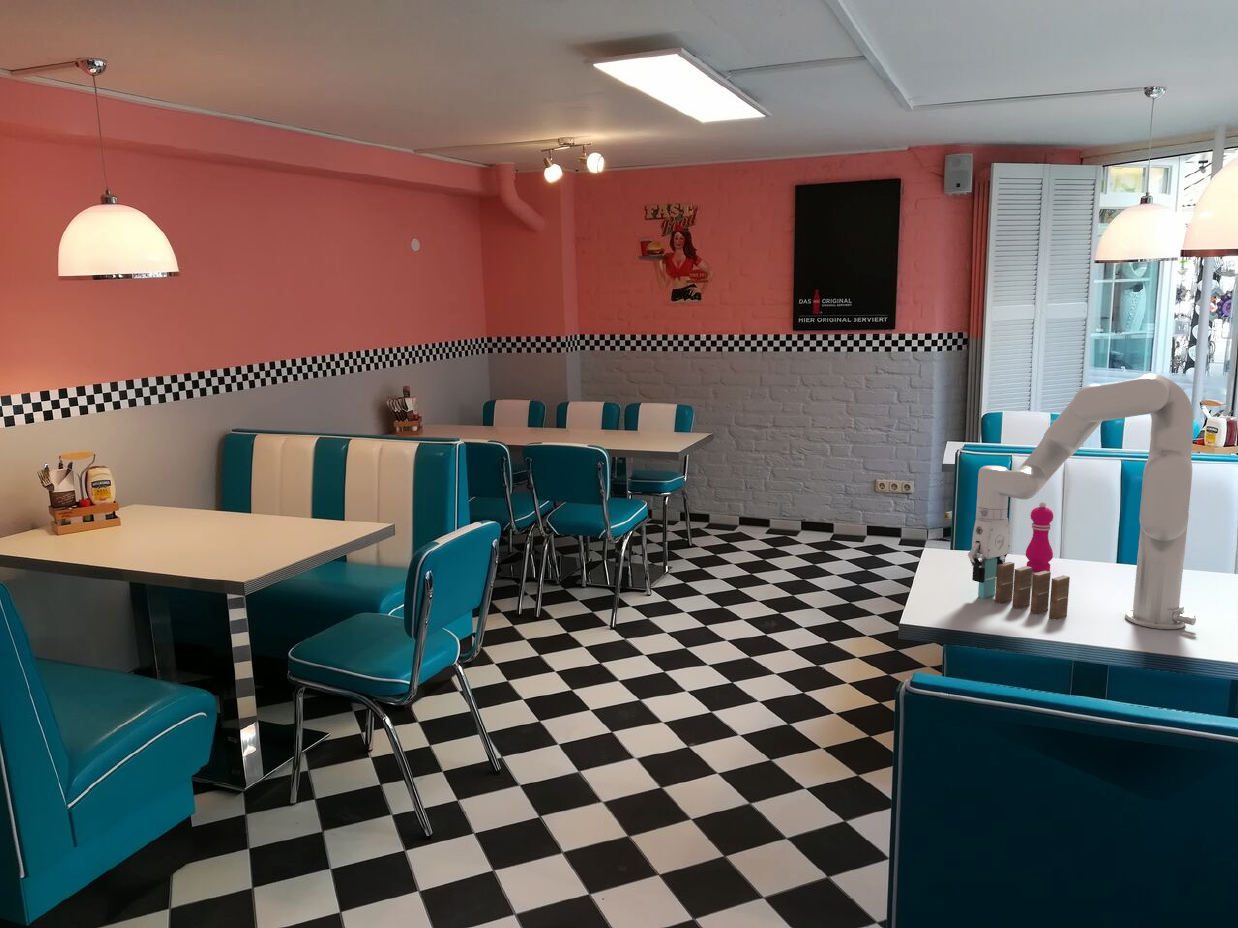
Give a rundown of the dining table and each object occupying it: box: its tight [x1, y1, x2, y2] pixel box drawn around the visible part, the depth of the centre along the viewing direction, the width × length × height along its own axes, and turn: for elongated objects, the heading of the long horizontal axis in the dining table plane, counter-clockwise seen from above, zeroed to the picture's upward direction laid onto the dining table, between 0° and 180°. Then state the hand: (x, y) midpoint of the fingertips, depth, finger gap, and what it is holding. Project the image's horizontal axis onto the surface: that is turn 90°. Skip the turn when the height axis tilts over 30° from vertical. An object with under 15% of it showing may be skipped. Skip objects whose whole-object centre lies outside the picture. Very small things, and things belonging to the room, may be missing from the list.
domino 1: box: [977, 558, 997, 599], centre depth 240 cm, size 2×5×10 cm, turn 124°
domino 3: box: [1011, 565, 1033, 610], centre depth 232 cm, size 2×5×10 cm, turn 123°
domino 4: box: [1029, 571, 1052, 615], centre depth 228 cm, size 2×5×10 cm, turn 123°
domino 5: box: [1048, 574, 1071, 620], centre depth 224 cm, size 2×5×10 cm, turn 123°
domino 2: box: [994, 561, 1015, 604], centre depth 236 cm, size 2×5×10 cm, turn 123°
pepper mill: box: [1025, 501, 1054, 573], centre depth 264 cm, size 7×7×20 cm
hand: (987, 578), depth 240 cm, fingers open, 7 cm apart
